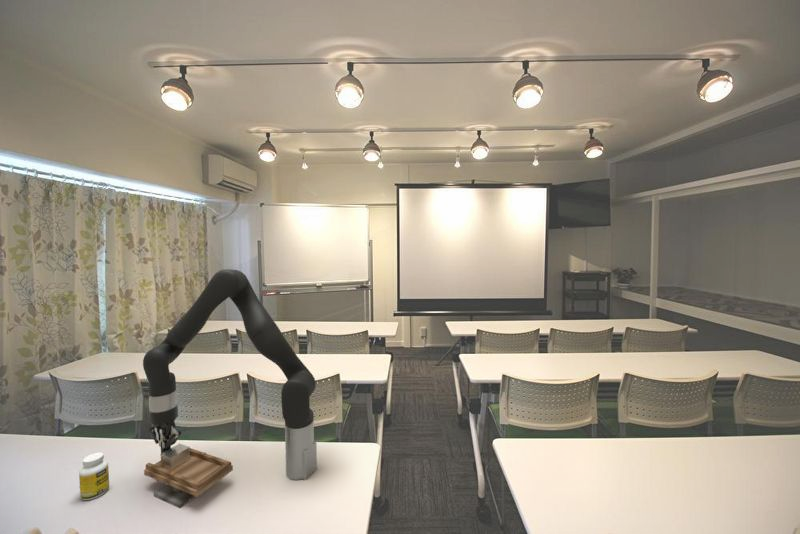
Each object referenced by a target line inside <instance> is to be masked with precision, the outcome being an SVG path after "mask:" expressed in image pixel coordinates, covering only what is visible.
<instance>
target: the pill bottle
mask: <svg viewBox="0 0 800 534" xmlns="http://www.w3.org/2000/svg"><path fill="white" fill-rule="evenodd" d="M82 465H83V466H82V467H81V468H80V470H79V471H78V473H79V476H78V477H79V493H80V496H79V497H80V499H81V500H82V501H91V500H93V499H97V498H99V497H101V496H102V495H104V494H105V493H106V492H107V491H108V490H109V488H110V476H109V475H110V474H109V461H108V460H107V459H105V455H104V452H95V453H91V454H89V455H86V456H85V457H84V458H83V459H82Z"/></svg>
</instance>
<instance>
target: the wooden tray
mask: <svg viewBox="0 0 800 534" xmlns="http://www.w3.org/2000/svg"><path fill="white" fill-rule="evenodd" d="M232 471H234V466H233V465H232V461H230V460H227V459H224V458H220V457H218V456H214V455H212V454H209V453H207V452H205V451H200V450H198V449H194V448H191V447H190V459H189V460H187V461H186V462H184V463H182V464H181V465H179V466H178V467H176V468H174V469H173V470H169V469H167V468H164V467H162V466H161V460H159V461H157V462H156V463H151V462H147V463H146V464H145V469H144V470H143V474H144V476H146V477H149V478H152V479H154V480H156V481H158V482H160V483H162V484H165V485H163V487H160V488H159V489H157V490H156V491H155V492H153V497H155V498H157V499H160V500H162V501H163V502H165V503H168V504H170V505H173V506H174V507H177V508H179V509H181V508H183V507H184V506H185V505H186V504H188V503H189V502H190V501H192V500H193V499H195V498H196V497H197V498H198V497H199V496H201V495H202V494H203V493H204V492H206V491H207V490H209V489H210V488H211V487H212V486H214V485H215V484H216V483H218V482H219V481H221V480H222V479H223V478H224V477H226V476H227V475H228V474H230V473H231V472H232Z"/></svg>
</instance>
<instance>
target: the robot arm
mask: <svg viewBox="0 0 800 534" xmlns="http://www.w3.org/2000/svg"><path fill="white" fill-rule="evenodd" d="M227 299H230V300H231V301H232V302H233V304H234V305H235V306H236V308H237V309H238V311H239V313H240V316H241V318H242V323H243V326H244V329H245V332H246V334H247V337H248V338H249V340H250V342H251V343H252V345H253V346H254V348H255V349H256V350H257V351H258V353H260V355H262V356H263V357H265V359H267V360H269V361H271V362H272V363H274V364H275V365H276V366H277V367H279V369H280V370H281V371H282V373H283V375H284V376H285V378H286V379H287V381H286V382H284V384H283V386H282V388H281V395H280V396H281V412H282V413H281V414H282V417H283V419H284V438H285V439H284V441H285V443H284V444H285V448H284V449H285V476H286V477H287V478H288V479H290V480H296V481H298V480H307V479H308V478H309V477H310V476H311V475H312V473H314V472H315V471H316V470H317V468H318V462H317V461H318V457H317V455H318V454H317V447H318V446H317V441H315V431H314V428H315V427H314V426H315V425H314V424H315V423H314V420H315V419H314V416H315V415H314V411H313V410H312V409H311V407H310V398H311V396H312V394H314V391H315V389H316V386H317V383H316V379H315V377H314V375H313V373H312V372H311V371H310V370H309V368H307V366H306V365H305V363H303V361H302V360H301V359H300V358H299V356H298V355H297V354H296V352H295V351H294V350H293V348H292V346H291V345H290V343H289V342H288V340H287V339H286V337H285V336H284V334H283V332H282V331H281V329H280V328H279V326H278V325H277V323H276V322H275V320H274V319H273V317H272V316H271V315H270V314H269V312H268V310H266V308H265V307H264V305H263V304H262V303H261V301H260V300H259V298H258V296H257V295H256V291H254V288H253V287H252V284H251V282H250V280H249V279H248V277H247V276H246V274H244V272H242V271H240V270H238V269H230V268H227V269H226V268H225V269H220V270H218V271H217V272H215V273H214V275H213V276H212V277H211V279H210V280H209V282H208V283H207V285H206V287H205V288H204V290H203V291H202V292H201V294H199V296H198V297H197V299H196V300H195V302H194V303H193V304H192V306H191V307H190V308H189V309H188V310H187V312H185V314H184V315H183V316H182V317H181V318H180V319H179V320H178V321H177V322H176V323H175V324H174V325H173V326H172V327H171V328H170V329H169V331H168V332H167V334H166V337H165V338H164V339H163V341H162V342H160V344H158V345H157V346H155V347H153V348H151V349H150V350H148V351H147V352H146V353H145V355H144V357H143V361H142V366H143V371H144V373H145V376H146V379H147V381H148V391H149V397H148V398H149V400H148V411H149V412H148V413H149V415H148V416H149V423H150V425H152V426H150V427H149V428H148V430H149V432H150V434H151V436H152V438H153V440H154V442H155V444H156V445H158V446H159V448H160V455H161V454H162V453H163V452H165V451H167V450H169V449H171V448H172V447H171V446H173V445H175V444H176V443H177V441H178V440H179V438H180V437H181V434H182V431H181V430H178V431H177V429H176V422H175V421H176V419H177V418H178V416H179V408H178V407H179V406H178V405H179V403H178V401H179V400H178V394H177V393H178V392H177V382H176V380H177V379H176V375H175V373H174V372H170V369H169V368H170V367H169V366H170V364H172V363H173V362H174V361H175V360H177V359H178V357H179V356H180V355H181V354H182V352H183V351H184V349H186V347H187V346H188V345H189V344H190V343H191V342H192V341H193V339H194V338H196V336H197V335H199V333H200V332H201V331H202V329H203V328H204V327H205V325H206V323H207V322H208V320H209V318H210V316H211V314H212V313H213V312H214V311H215V310H216V309H217V308H218V307H219V306H220V305H221V304H222V303H223V302H224V301H226V300H227Z"/></svg>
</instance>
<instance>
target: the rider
mask: <svg viewBox="0 0 800 534" xmlns="http://www.w3.org/2000/svg"><path fill="white" fill-rule="evenodd" d="M190 448H191V447H190V446H188V445H185V444H182V443H178V444H176V445H174V446H173V447H171V449H169V450H167V451H165V452H163V453H162V454H161V453H160V461H161V466H162V467H164V468H167V469H169V470H173V469H174V468H176V467H178V466H179V465H181V464H182V463H184V462H186V461H187V460H189V459H190Z"/></svg>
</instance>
